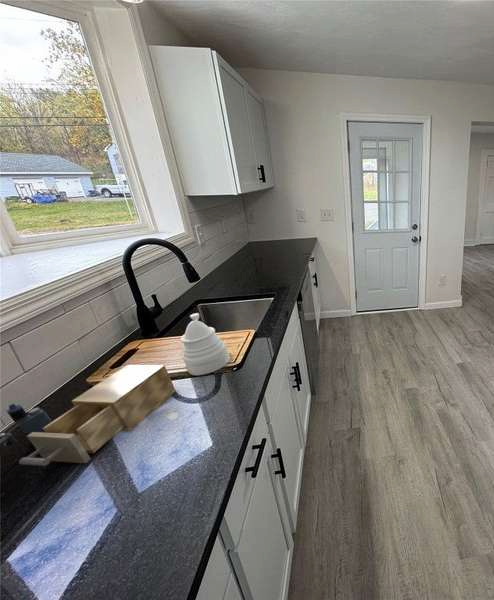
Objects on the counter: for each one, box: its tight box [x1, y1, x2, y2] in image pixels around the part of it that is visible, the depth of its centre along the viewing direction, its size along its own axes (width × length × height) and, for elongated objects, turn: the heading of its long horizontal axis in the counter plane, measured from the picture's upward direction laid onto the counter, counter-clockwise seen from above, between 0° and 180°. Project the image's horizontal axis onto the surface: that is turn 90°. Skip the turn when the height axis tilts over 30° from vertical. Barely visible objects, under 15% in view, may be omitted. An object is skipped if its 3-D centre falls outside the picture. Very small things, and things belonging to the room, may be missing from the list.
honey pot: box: [180, 312, 231, 376], centre depth 105 cm, size 13×13×18 cm
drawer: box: [18, 404, 125, 467], centre depth 75 cm, size 19×11×8 cm, turn 173°
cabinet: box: [71, 364, 177, 432], centre depth 87 cm, size 16×13×10 cm
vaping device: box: [6, 403, 53, 443], centre depth 79 cm, size 3×5×12 cm, turn 166°
